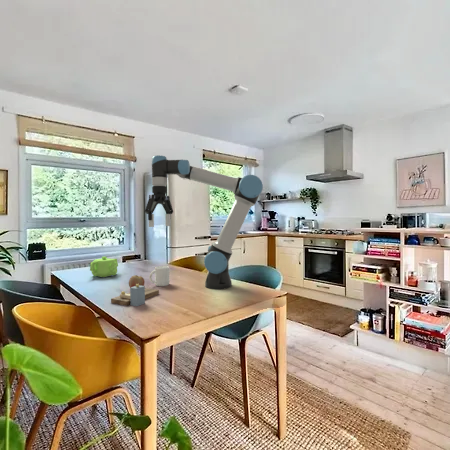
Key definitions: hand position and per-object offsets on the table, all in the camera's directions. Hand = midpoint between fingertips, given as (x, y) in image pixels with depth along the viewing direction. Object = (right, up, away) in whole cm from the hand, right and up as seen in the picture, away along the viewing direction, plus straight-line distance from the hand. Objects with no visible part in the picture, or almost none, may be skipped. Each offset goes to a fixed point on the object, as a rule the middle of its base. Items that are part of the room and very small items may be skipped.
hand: (160, 226), depth 154 cm
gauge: (-9, -35, -19) cm, 41 cm away
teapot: (-45, -34, +41) cm, 70 cm away
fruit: (-14, -35, +5) cm, 38 cm away
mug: (-4, -34, +16) cm, 38 cm away
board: (-9, -35, -11) cm, 38 cm away
